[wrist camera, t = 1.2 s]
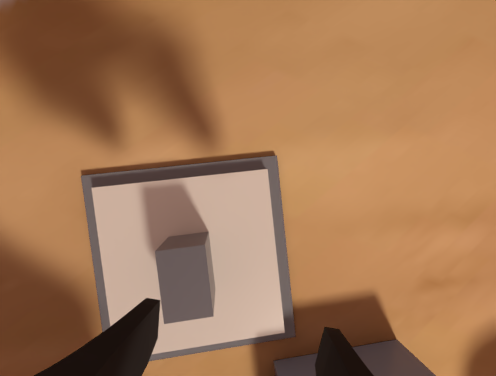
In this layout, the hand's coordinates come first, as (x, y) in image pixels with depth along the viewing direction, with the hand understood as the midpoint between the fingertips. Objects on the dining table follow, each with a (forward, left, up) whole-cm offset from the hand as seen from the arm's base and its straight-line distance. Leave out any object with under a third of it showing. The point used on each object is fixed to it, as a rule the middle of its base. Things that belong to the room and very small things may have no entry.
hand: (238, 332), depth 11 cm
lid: (-3, 0, -10) cm, 10 cm away
